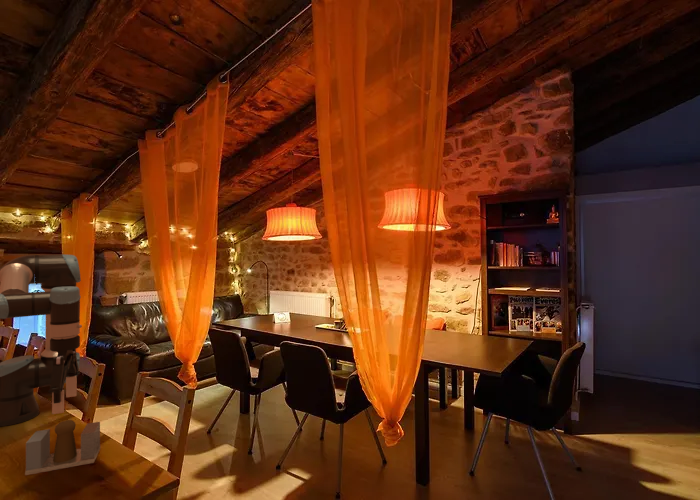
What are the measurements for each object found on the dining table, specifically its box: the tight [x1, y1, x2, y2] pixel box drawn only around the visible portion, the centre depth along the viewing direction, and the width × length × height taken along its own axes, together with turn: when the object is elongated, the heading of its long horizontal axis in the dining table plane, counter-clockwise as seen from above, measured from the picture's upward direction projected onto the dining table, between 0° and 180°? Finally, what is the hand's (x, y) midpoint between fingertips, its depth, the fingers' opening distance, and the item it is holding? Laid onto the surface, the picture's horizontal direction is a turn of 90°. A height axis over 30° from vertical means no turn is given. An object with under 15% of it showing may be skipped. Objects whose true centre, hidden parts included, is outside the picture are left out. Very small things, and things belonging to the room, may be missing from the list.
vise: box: [24, 421, 101, 476], centre depth 119 cm, size 9×17×9 cm, turn 113°
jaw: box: [25, 428, 51, 471], centre depth 116 cm, size 8×4×8 cm, turn 23°
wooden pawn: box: [53, 419, 77, 463], centre depth 119 cm, size 6×6×11 cm
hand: (65, 404), depth 119 cm, fingers open, 13 cm apart
